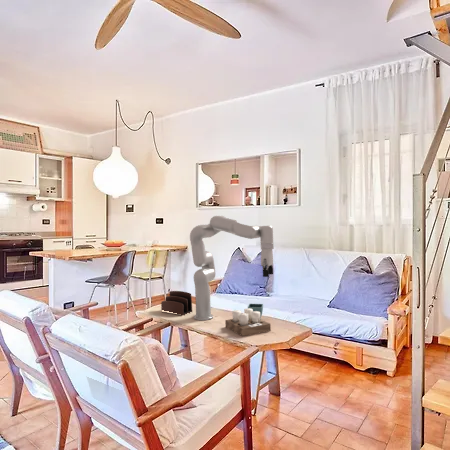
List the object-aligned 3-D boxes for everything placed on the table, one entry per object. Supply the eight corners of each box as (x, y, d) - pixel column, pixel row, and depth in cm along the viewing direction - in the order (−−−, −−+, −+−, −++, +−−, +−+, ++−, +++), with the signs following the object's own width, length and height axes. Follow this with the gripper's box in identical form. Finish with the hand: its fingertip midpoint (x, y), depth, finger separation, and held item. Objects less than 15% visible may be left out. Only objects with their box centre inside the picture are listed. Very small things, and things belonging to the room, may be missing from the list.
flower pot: (262, 322, 212) (261, 307, 212) (247, 321, 214) (247, 306, 214) (263, 317, 221) (263, 303, 220) (249, 317, 222) (249, 303, 222)
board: (225, 326, 204) (225, 320, 204) (251, 322, 212) (251, 315, 212) (242, 336, 186) (242, 329, 186) (270, 330, 194) (270, 323, 194)
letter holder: (170, 309, 250) (170, 289, 250) (192, 312, 239) (192, 292, 239) (161, 312, 242) (160, 292, 241) (183, 316, 231) (182, 294, 231)
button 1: (231, 321, 203) (230, 311, 203) (238, 320, 205) (238, 309, 205) (235, 323, 198) (235, 313, 198) (242, 322, 201) (242, 311, 201)
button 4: (250, 322, 199) (249, 312, 199) (257, 321, 202) (257, 310, 202) (254, 324, 195) (254, 314, 195) (262, 323, 197) (261, 312, 197)
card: (247, 325, 192) (247, 324, 192) (258, 323, 195) (258, 322, 195) (251, 327, 189) (251, 326, 189) (262, 325, 192) (262, 324, 192)
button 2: (237, 324, 196) (237, 314, 196) (245, 323, 198) (245, 312, 198) (242, 327, 191) (242, 316, 191) (250, 325, 193) (249, 314, 193)
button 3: (243, 319, 206) (242, 309, 206) (250, 317, 209) (249, 308, 209) (247, 321, 202) (247, 311, 202) (254, 319, 204) (254, 309, 204)
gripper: (265, 245, 215) (266, 273, 215) (256, 247, 199) (257, 277, 199) (277, 245, 212) (278, 273, 212) (269, 247, 196) (270, 278, 196)
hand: (268, 275), depth 205 cm, fingers open, 9 cm apart
